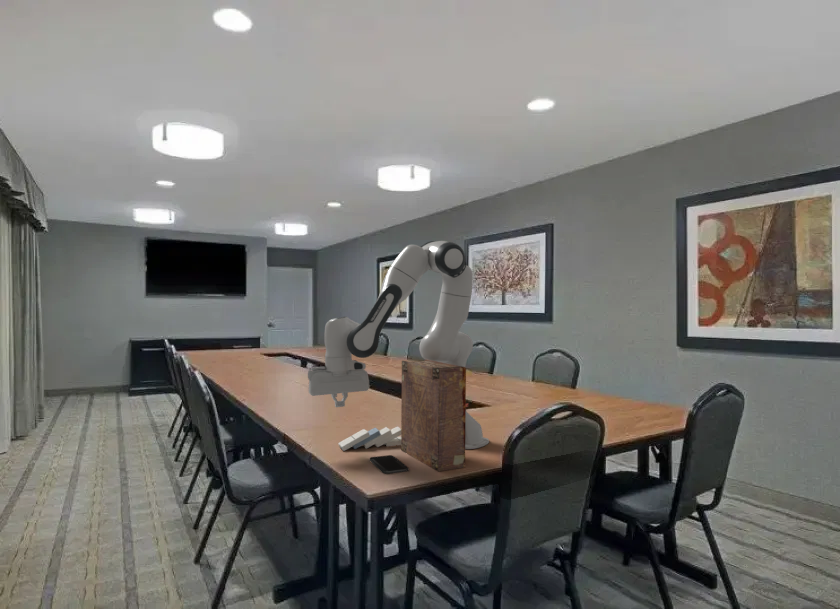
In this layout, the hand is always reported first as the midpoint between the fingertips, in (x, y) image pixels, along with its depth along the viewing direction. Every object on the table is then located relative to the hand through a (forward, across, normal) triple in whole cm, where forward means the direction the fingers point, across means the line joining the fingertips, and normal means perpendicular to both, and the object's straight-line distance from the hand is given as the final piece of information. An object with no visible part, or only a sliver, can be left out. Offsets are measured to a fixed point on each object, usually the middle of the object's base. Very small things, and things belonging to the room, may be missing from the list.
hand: (339, 406), depth 170 cm
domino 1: (+14, 0, 0) cm, 14 cm away
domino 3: (+14, +8, 0) cm, 16 cm away
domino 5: (+14, +16, 0) cm, 21 cm away
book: (+16, +23, -21) cm, 35 cm away
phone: (+16, +8, -22) cm, 28 cm away
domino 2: (+14, +4, +1) cm, 14 cm away
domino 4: (+14, +12, 0) cm, 18 cm away
